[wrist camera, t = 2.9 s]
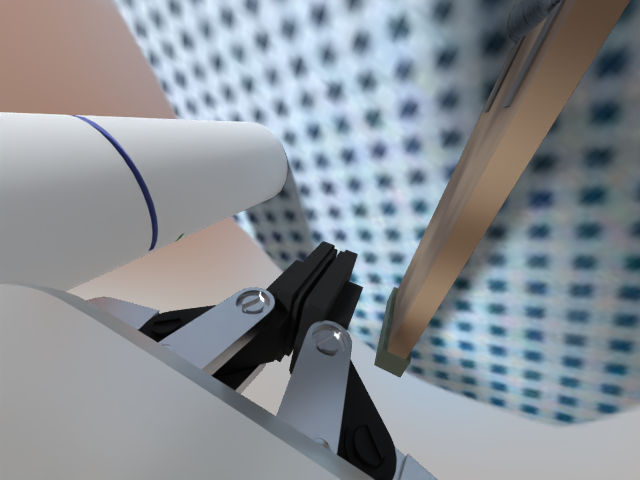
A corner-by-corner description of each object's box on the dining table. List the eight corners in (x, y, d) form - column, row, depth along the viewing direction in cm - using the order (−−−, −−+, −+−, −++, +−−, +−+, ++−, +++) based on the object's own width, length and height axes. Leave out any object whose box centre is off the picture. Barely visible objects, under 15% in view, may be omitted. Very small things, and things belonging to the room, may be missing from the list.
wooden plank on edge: (502, 50, 12) (574, -20, 6) (541, 55, 12) (655, -17, 6) (387, 301, 22) (374, 364, 16) (406, 309, 21) (400, 377, 15)
